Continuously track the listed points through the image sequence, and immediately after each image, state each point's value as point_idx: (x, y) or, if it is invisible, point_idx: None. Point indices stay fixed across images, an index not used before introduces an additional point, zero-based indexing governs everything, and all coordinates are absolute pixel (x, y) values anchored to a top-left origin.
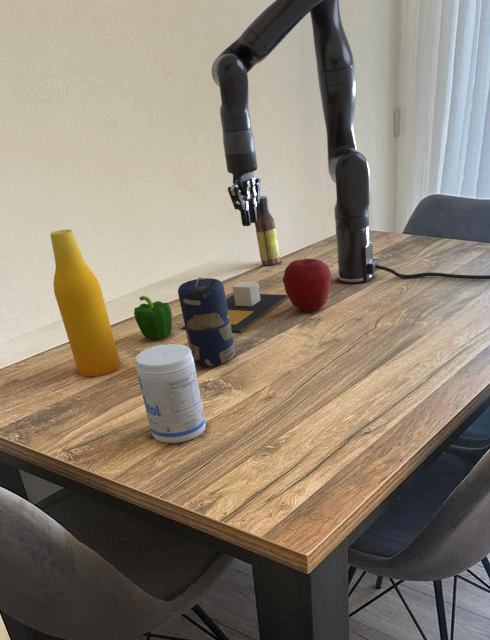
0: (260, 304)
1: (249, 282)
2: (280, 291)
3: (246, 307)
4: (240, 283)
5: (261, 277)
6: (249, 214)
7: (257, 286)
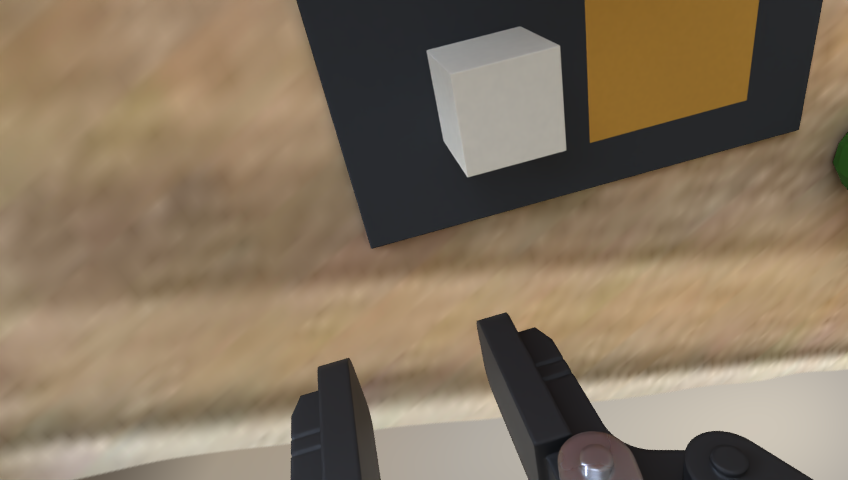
0: (481, 2)
1: (477, 114)
2: (224, 74)
3: None
4: (506, 151)
5: (97, 330)
6: (520, 398)
7: (458, 63)
